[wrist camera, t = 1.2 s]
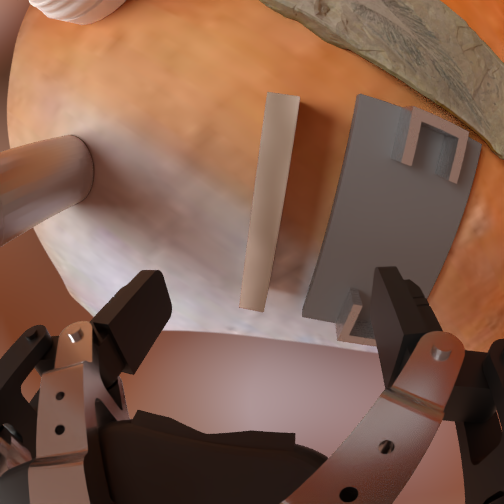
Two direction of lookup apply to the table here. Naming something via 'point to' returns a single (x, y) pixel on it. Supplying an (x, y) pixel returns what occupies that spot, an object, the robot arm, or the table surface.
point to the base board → (387, 212)
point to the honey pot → (77, 9)
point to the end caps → (404, 153)
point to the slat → (268, 197)
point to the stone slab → (416, 53)
